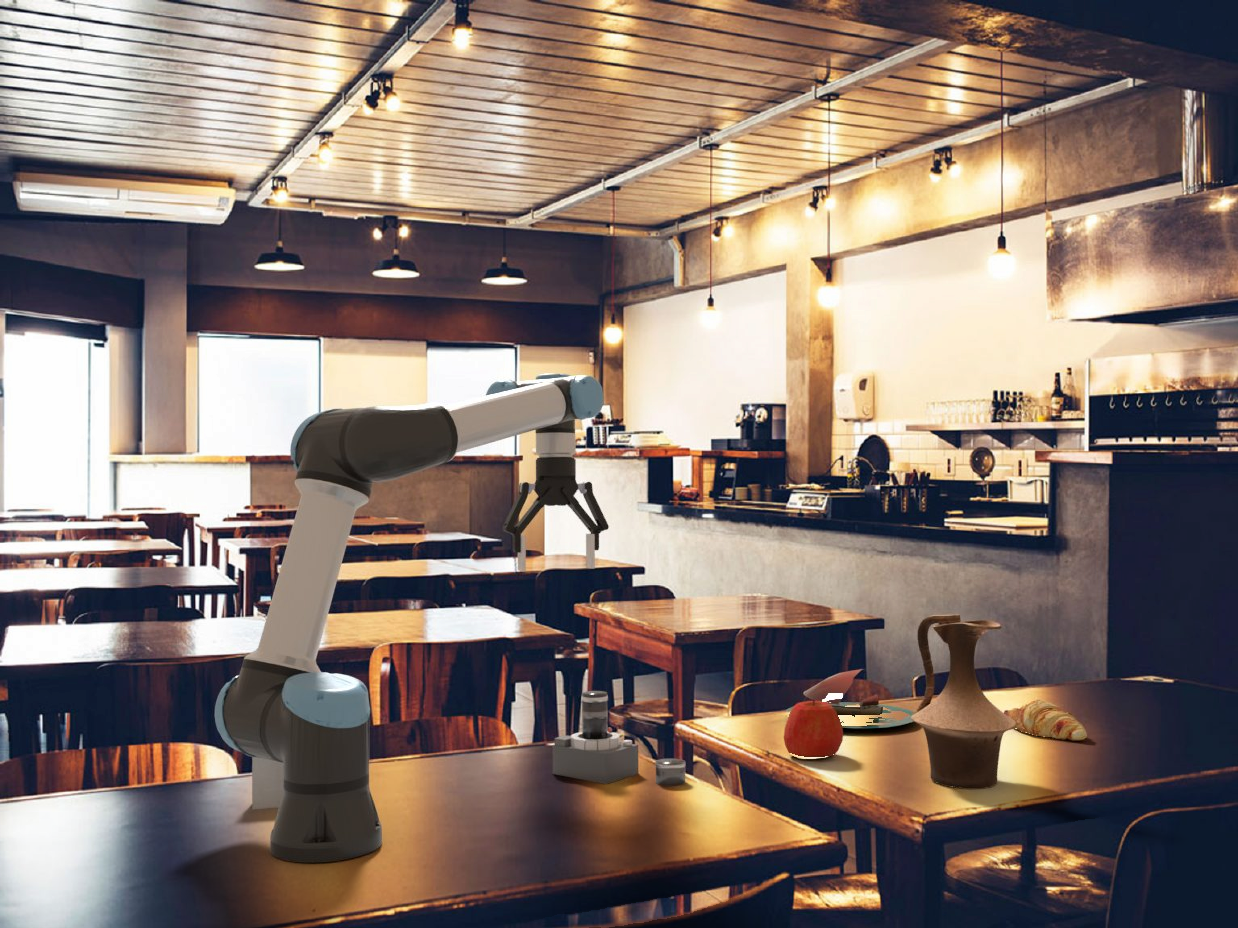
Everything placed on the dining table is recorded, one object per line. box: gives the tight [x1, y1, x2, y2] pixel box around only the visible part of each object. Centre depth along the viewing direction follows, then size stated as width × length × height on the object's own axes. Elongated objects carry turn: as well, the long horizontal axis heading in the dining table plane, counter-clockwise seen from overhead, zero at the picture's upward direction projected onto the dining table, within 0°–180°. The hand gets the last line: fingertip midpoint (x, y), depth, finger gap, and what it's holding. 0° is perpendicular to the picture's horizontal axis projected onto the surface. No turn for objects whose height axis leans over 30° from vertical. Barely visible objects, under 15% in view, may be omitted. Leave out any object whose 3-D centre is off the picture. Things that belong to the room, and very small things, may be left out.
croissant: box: [1003, 699, 1088, 741], centre depth 235 cm, size 21×10×8 cm, turn 27°
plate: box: [784, 668, 915, 729], centre depth 249 cm, size 28×28×11 cm
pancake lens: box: [654, 758, 686, 787], centre depth 198 cm, size 5×5×4 cm
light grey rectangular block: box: [251, 757, 284, 810], centre depth 186 cm, size 4×7×10 cm, turn 107°
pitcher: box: [911, 613, 1016, 790], centre depth 197 cm, size 18×17×28 cm
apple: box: [783, 699, 844, 757], centre depth 216 cm, size 11×11×11 cm
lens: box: [581, 690, 609, 740], centre depth 204 cm, size 5×5×9 cm
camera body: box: [552, 727, 640, 785], centre depth 204 cm, size 9×12×7 cm
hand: (556, 569), depth 220 cm, fingers open, 13 cm apart
